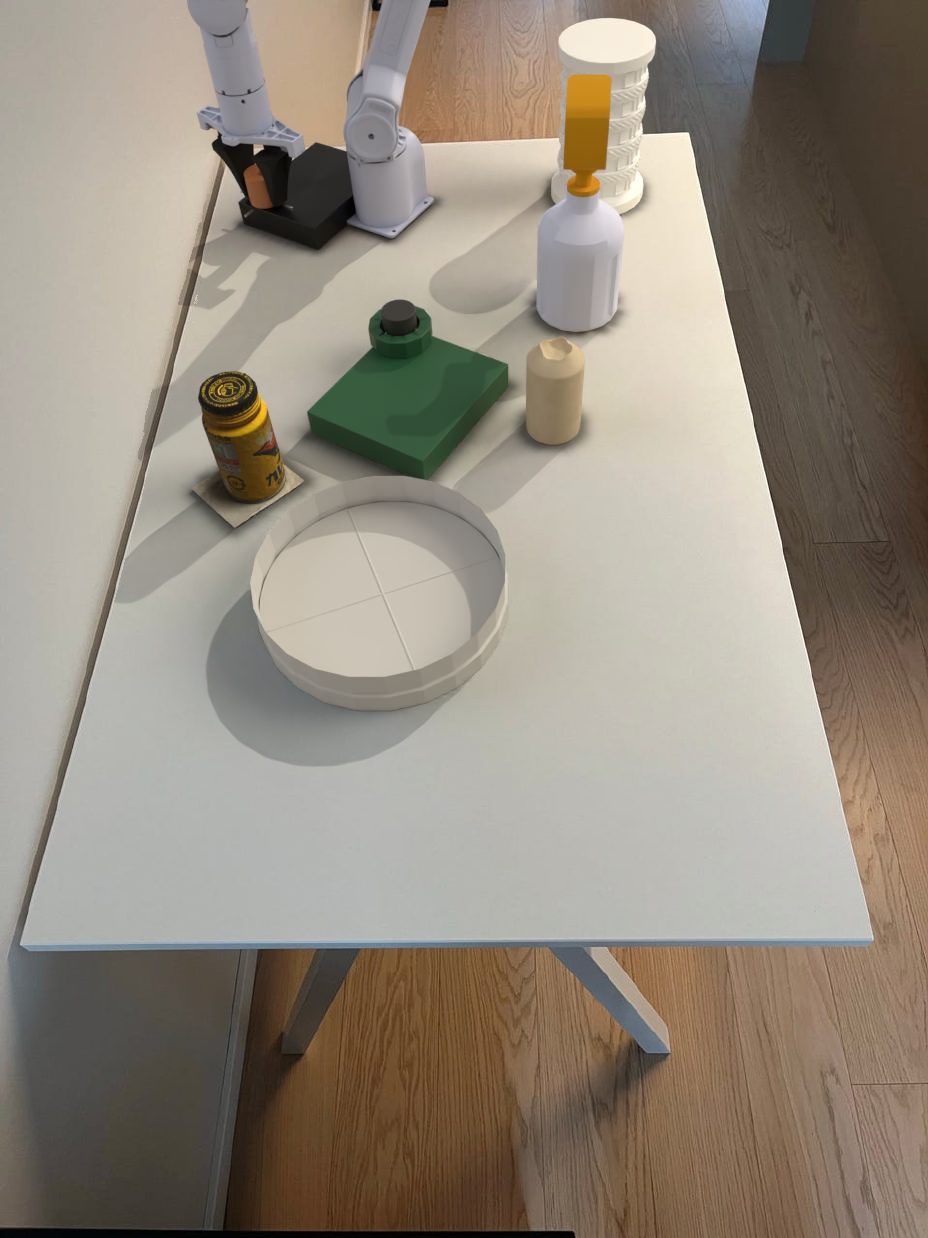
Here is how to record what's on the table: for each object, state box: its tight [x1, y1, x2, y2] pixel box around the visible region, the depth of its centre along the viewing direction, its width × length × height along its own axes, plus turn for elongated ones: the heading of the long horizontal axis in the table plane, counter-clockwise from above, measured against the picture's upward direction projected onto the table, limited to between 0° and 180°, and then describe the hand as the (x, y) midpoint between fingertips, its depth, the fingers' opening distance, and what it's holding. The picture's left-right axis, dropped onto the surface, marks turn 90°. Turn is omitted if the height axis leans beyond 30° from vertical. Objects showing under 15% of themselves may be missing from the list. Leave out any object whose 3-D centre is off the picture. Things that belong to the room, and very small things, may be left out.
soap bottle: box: [536, 75, 625, 333], centre depth 97 cm, size 9×9×25 cm
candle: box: [525, 336, 586, 446], centre depth 92 cm, size 6×6×10 cm
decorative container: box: [550, 17, 657, 215], centre depth 113 cm, size 12×12×18 cm
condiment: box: [191, 370, 305, 529], centre depth 89 cm, size 7×8×12 cm
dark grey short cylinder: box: [380, 298, 417, 336], centre depth 99 cm, size 4×4×2 cm
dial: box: [244, 164, 274, 209], centre depth 116 cm, size 4×4×4 cm
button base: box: [306, 305, 510, 480], centre depth 97 cm, size 17×15×5 cm
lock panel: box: [237, 141, 356, 251], centre depth 121 cm, size 18×13×3 cm
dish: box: [249, 475, 509, 712], centre depth 82 cm, size 22×22×5 cm
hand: (265, 197), depth 118 cm, fingers closed on dial, 4 cm apart
